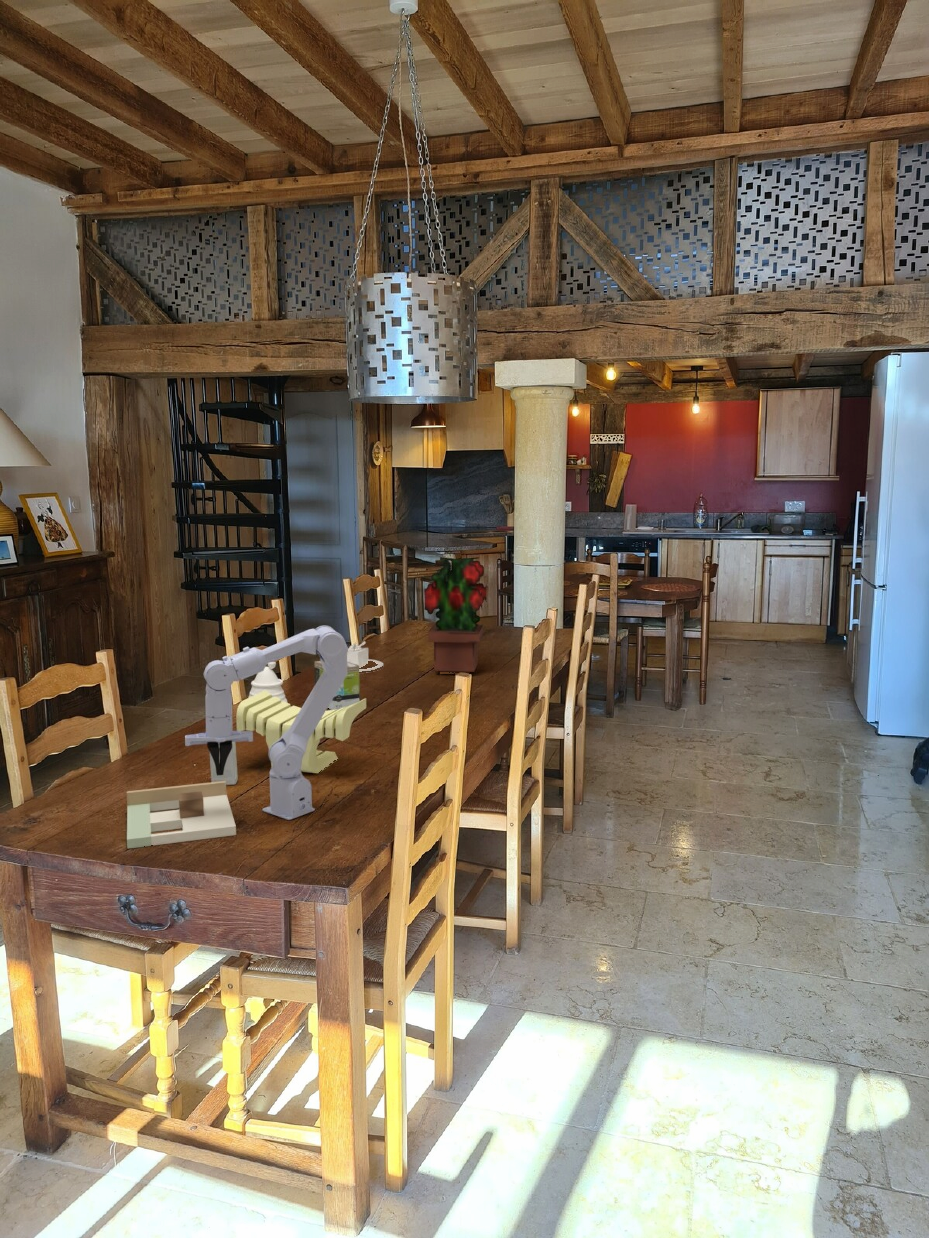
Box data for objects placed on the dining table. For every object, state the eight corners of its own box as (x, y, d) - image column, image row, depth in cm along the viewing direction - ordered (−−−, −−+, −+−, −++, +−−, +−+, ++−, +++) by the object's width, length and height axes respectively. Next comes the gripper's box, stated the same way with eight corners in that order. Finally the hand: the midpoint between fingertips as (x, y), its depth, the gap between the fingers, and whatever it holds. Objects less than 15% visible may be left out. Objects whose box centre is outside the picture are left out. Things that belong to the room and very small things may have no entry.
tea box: (360, 708, 303) (360, 664, 301) (333, 712, 298) (332, 668, 295) (340, 699, 316) (339, 657, 313) (314, 702, 310) (313, 660, 308)
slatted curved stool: (238, 769, 239) (235, 703, 236) (267, 752, 254) (265, 690, 252) (343, 780, 231) (342, 712, 228) (367, 761, 246) (366, 697, 243)
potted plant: (486, 666, 370) (486, 556, 363) (481, 678, 348) (482, 561, 341) (432, 665, 372) (431, 556, 365) (424, 677, 350) (424, 561, 343)
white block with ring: (392, 663, 378) (391, 636, 376) (369, 675, 354) (369, 647, 352) (337, 660, 384) (337, 633, 383) (311, 672, 361) (311, 644, 359)
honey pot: (292, 713, 297) (291, 659, 294) (281, 723, 284) (279, 667, 281) (254, 712, 298) (252, 658, 295) (241, 722, 285) (239, 666, 282)
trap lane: (226, 800, 216) (225, 780, 215) (236, 834, 195) (235, 812, 195) (127, 812, 208) (126, 791, 208) (127, 848, 188) (126, 825, 187)
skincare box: (238, 779, 231) (236, 733, 229) (235, 785, 227) (233, 738, 225) (213, 780, 231) (211, 734, 229) (210, 786, 226) (208, 739, 224)
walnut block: (202, 808, 206) (201, 791, 205) (204, 815, 201) (203, 798, 200) (179, 810, 204) (178, 793, 203) (180, 818, 199) (179, 801, 199)
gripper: (185, 721, 195) (187, 782, 197) (254, 717, 200) (254, 776, 202) (184, 713, 202) (185, 772, 204) (250, 709, 207) (251, 767, 209)
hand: (219, 773), depth 203 cm, fingers closed
